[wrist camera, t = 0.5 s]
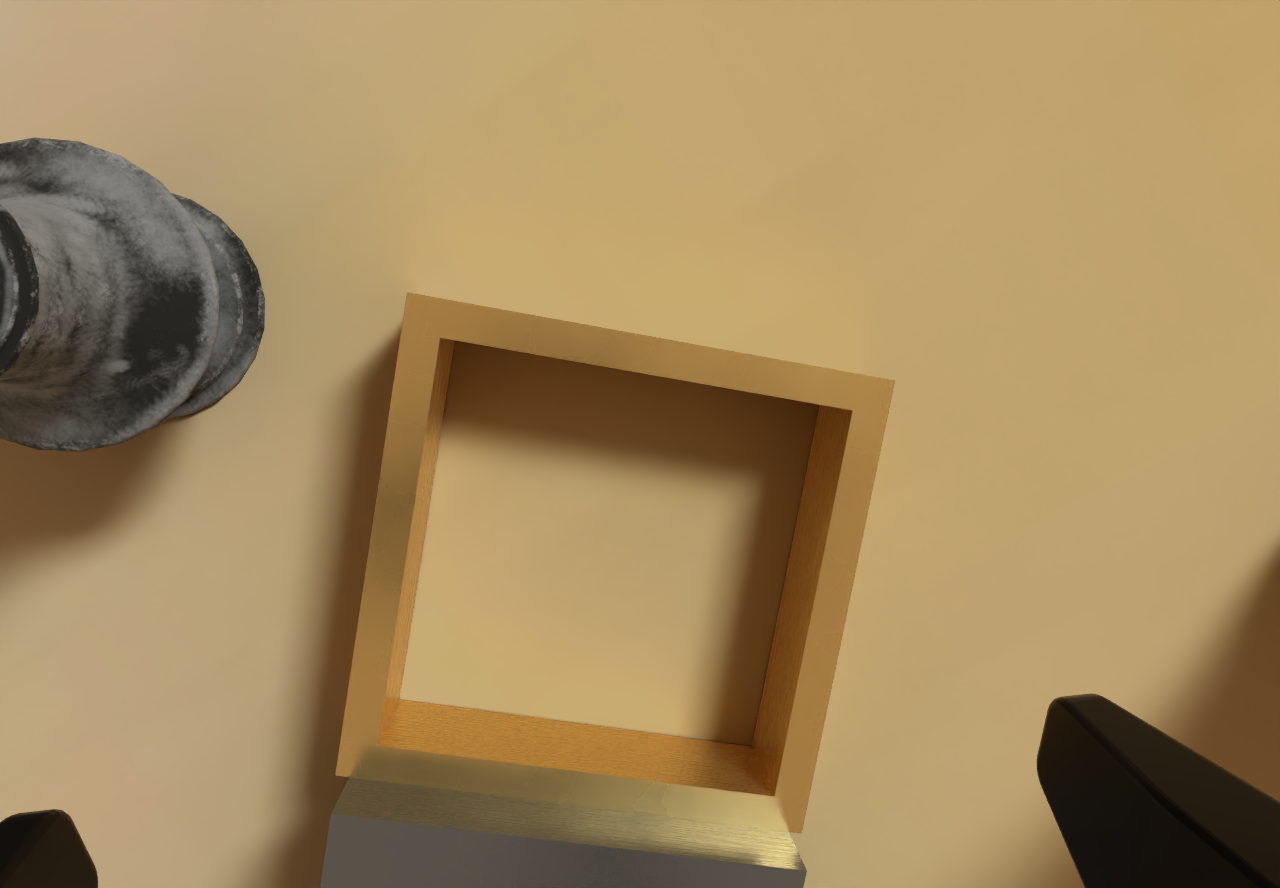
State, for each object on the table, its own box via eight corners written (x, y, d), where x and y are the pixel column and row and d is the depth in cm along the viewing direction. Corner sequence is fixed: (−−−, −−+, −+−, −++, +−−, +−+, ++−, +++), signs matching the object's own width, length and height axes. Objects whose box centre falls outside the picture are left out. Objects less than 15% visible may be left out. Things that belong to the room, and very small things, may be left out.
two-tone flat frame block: (705, 1127, 24) (742, 1335, 19) (306, 1092, 23) (233, 1302, 18) (857, 376, 22) (943, 386, 17) (426, 298, 20) (381, 284, 16)
